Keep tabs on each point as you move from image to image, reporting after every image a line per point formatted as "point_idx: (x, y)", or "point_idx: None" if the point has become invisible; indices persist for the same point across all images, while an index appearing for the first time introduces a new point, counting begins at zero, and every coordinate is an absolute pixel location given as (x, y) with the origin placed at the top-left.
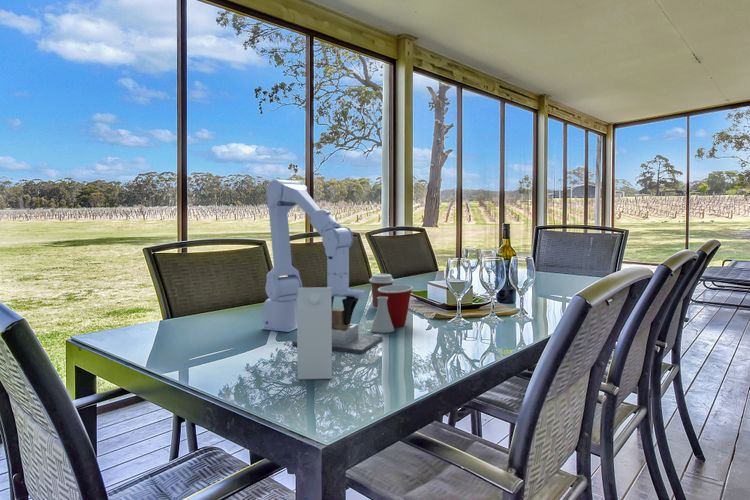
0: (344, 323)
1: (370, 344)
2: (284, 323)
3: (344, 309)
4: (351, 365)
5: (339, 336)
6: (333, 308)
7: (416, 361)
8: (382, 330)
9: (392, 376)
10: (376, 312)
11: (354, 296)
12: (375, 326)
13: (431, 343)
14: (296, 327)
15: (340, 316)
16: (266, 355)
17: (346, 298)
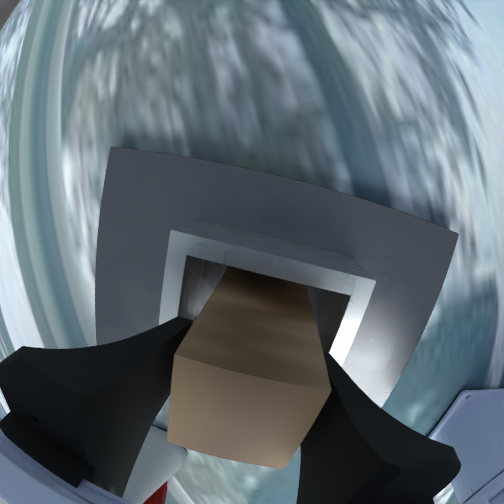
0: (189, 322)
1: (97, 241)
2: (479, 413)
3: (133, 363)
4: (142, 19)
5: (220, 232)
6: (286, 451)
7: (3, 136)
8: None
9: (55, 12)
10: (149, 490)
11: (5, 437)
12: (155, 445)
13: (7, 313)
14: (437, 429)
15: (194, 329)
16: (478, 87)
17: (78, 460)
